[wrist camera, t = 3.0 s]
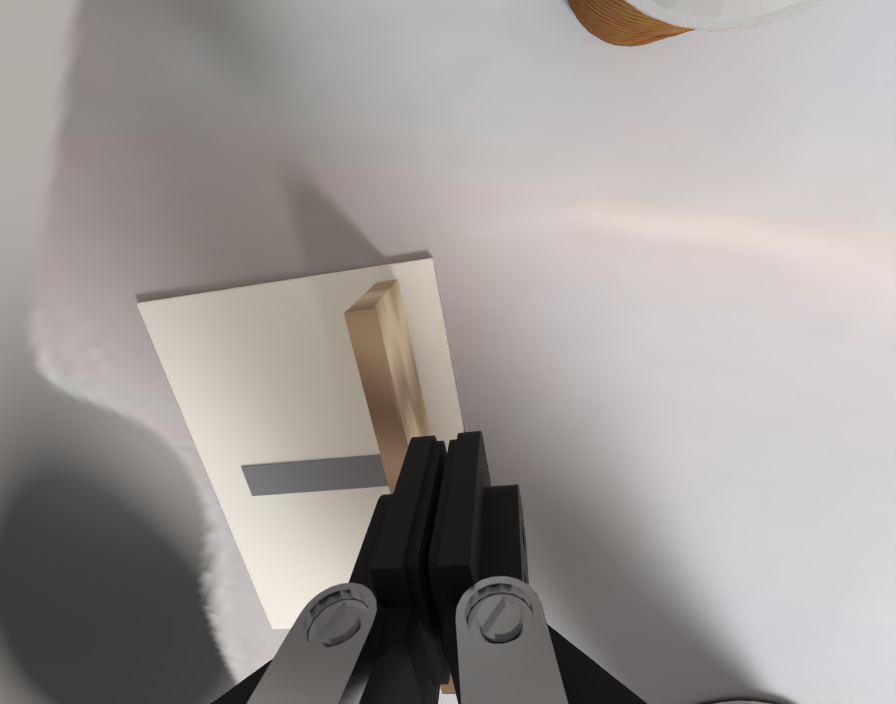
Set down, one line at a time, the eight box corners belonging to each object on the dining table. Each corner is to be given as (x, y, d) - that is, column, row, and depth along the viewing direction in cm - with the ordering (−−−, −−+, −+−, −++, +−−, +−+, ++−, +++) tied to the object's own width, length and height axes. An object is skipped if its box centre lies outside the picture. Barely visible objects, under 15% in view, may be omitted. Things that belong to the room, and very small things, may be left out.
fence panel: (435, 453, 29) (421, 515, 24) (415, 455, 30) (396, 516, 24) (398, 278, 25) (372, 308, 20) (375, 282, 26) (343, 313, 21)
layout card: (498, 618, 35) (497, 719, 29) (274, 624, 38) (228, 717, 32) (432, 257, 26) (409, 289, 19) (141, 301, 29) (37, 342, 22)
